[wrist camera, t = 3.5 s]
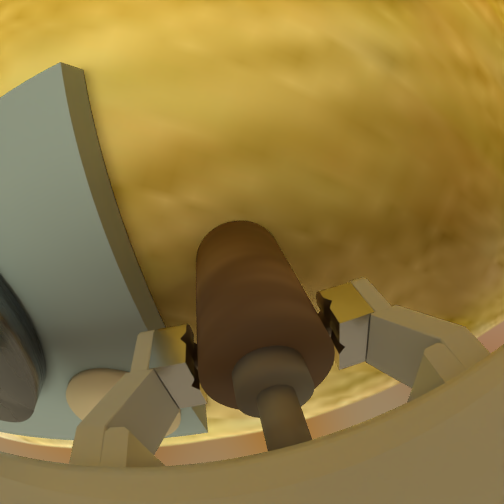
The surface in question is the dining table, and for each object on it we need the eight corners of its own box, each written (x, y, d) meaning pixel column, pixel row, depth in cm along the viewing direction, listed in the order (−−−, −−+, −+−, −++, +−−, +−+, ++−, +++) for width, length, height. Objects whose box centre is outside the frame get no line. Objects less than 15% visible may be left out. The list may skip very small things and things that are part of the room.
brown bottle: (272, 211, 12) (397, 399, 4) (284, 284, 13) (369, 469, 5) (186, 232, 11) (176, 458, 3) (208, 303, 13) (231, 506, 5)
